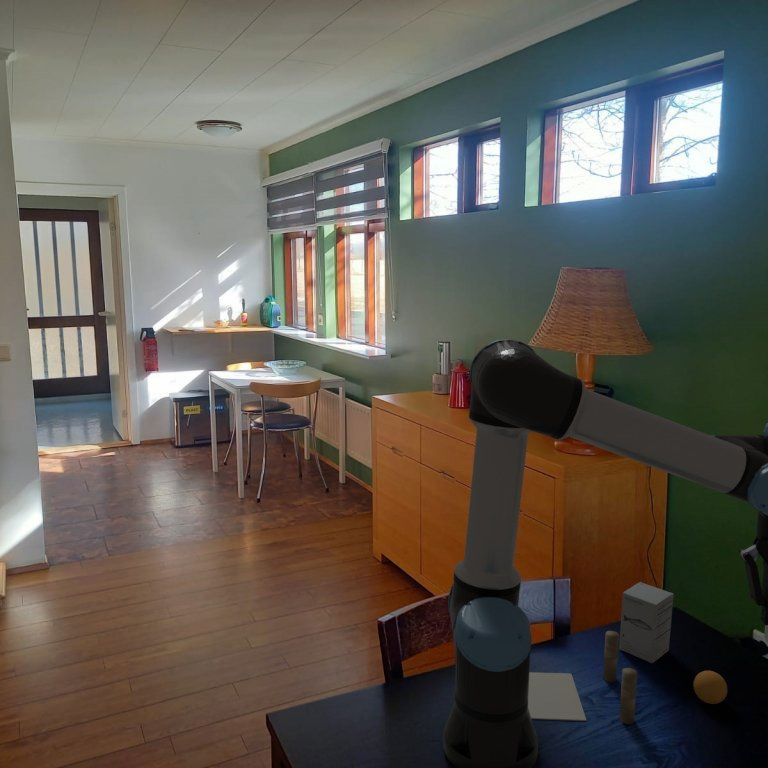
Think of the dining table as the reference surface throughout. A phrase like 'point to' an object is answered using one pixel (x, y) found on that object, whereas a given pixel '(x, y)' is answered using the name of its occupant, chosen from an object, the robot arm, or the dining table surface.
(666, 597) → the supplement box
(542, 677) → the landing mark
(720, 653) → the dining table surface
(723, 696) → the ball
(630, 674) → the right post
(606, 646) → the left post
